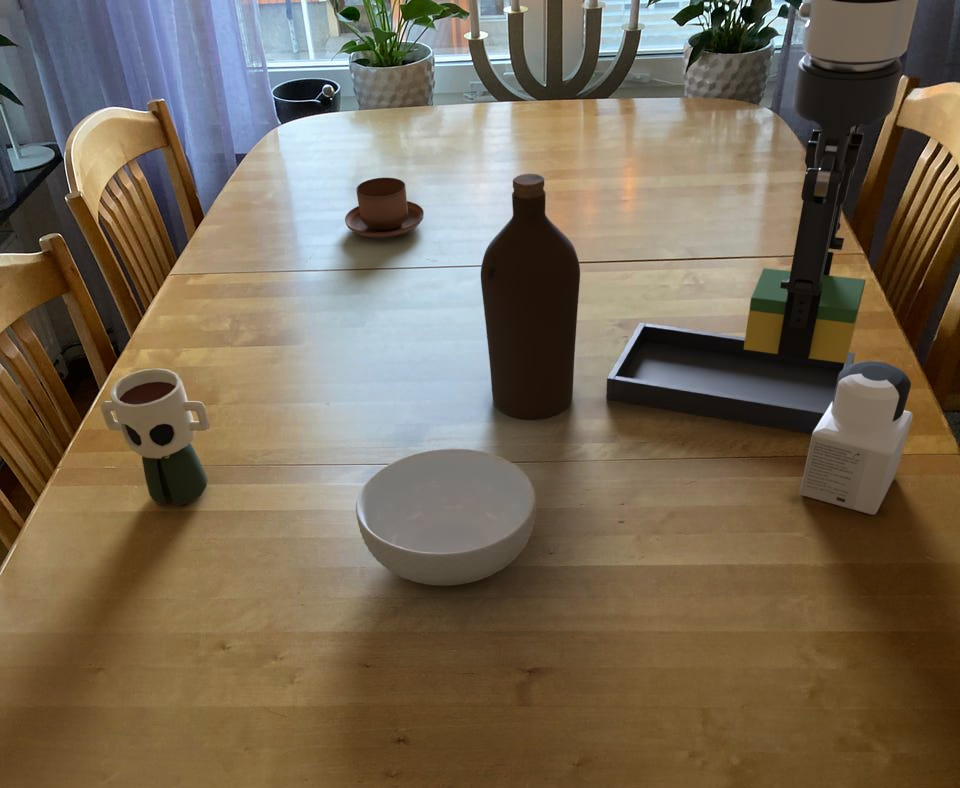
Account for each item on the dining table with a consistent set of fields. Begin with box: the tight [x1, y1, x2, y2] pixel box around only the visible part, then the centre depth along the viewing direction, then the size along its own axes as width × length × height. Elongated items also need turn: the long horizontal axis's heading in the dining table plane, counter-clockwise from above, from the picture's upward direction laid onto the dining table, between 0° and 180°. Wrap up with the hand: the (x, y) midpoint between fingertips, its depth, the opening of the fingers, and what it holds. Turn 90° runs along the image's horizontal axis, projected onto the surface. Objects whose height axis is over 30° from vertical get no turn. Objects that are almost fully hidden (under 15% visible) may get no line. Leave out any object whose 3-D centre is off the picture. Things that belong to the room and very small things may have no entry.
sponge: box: [744, 267, 866, 363], centre depth 90 cm, size 9×6×5 cm, turn 69°
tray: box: [605, 321, 856, 435], centre depth 116 cm, size 26×14×3 cm, turn 68°
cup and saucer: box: [344, 177, 425, 239], centre depth 151 cm, size 12×12×6 cm
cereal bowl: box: [355, 448, 537, 587], centre depth 96 cm, size 17×17×7 cm
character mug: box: [99, 367, 211, 506], centre depth 104 cm, size 11×7×13 cm, turn 85°
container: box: [799, 360, 914, 516], centre depth 98 cm, size 8×8×13 cm
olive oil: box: [480, 173, 581, 420], centre depth 109 cm, size 11×11×25 cm
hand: (799, 336), depth 92 cm, fingers closed on sponge, 6 cm apart
